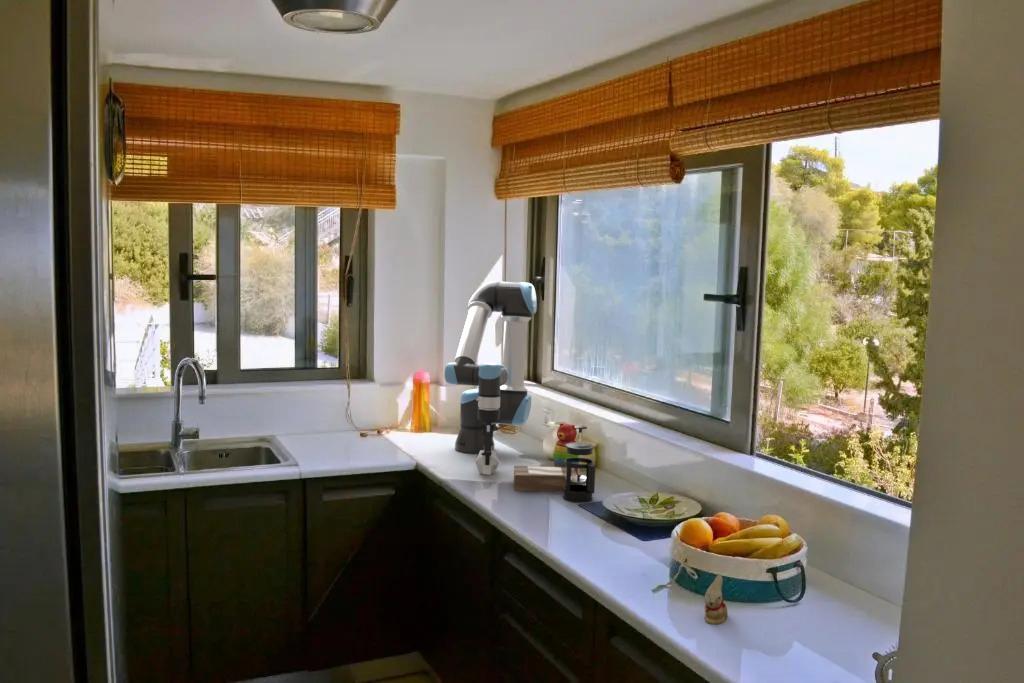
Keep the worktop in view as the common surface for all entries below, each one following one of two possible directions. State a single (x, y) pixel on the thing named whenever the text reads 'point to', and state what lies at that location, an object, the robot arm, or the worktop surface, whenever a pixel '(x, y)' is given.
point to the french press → (577, 490)
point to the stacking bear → (560, 451)
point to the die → (493, 462)
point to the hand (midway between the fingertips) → (487, 469)
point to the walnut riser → (540, 478)
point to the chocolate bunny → (715, 603)
